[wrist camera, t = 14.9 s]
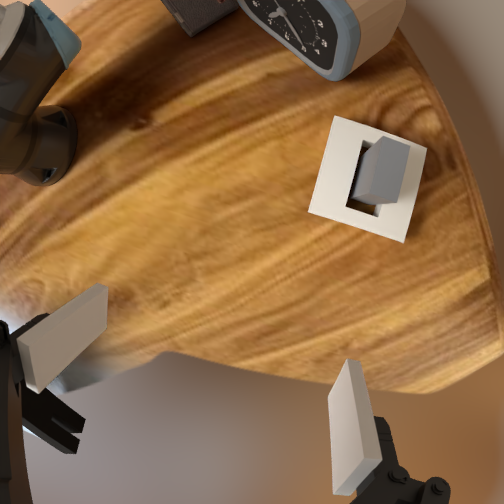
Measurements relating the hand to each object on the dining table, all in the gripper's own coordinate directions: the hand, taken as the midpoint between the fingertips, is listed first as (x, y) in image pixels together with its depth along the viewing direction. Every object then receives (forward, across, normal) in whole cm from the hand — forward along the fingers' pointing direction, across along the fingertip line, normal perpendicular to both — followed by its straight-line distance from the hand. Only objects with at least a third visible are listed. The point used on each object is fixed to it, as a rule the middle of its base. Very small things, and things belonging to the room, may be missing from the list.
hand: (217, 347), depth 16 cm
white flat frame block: (+30, +11, +10) cm, 34 cm away
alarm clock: (+34, -2, +30) cm, 45 cm away
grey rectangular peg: (+30, +11, +10) cm, 34 cm away
